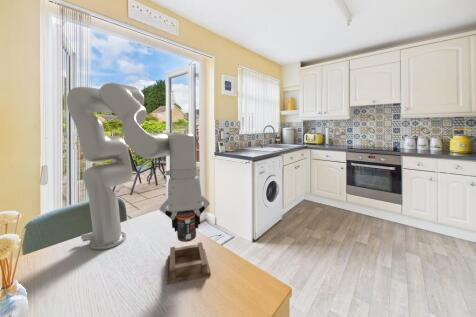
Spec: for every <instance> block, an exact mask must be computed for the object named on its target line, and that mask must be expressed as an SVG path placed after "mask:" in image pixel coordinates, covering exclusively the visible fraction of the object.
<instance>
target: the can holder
mask: <svg viewBox="0 0 476 317" xmlns="http://www.w3.org/2000/svg"><path fill="white" fill-rule="evenodd" d="M169 250H170V251H169V253H170V254H168V255H167V266H166V285H170V284H175V283H180V282H186V281H189V280H194V279H199V278H204V277H210V276H211V275H212V274H211V269H210V268H211V267H210V264H209V260H208V256H207V254H206V252H207V251H206V249H204V245H203V242H201V241H200V242H197V244H192V245H191V244H190V245H186V246H181V247H179V246H178V247H176V246H170V248H169Z"/></svg>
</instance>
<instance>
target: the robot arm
mask: <svg viewBox="0 0 476 317" xmlns="http://www.w3.org/2000/svg"><path fill="white" fill-rule="evenodd" d="M144 104H145V96H144V94H143V92H142V91H141V90H140V89H139V88H137V87H136V86H132V85H126V84H123V83H117V82H109V83H105V84H103V85H102V86H101V87H100V88H96V87H90V86H89V87H88V86H76V87H73V88H71V89H70V90H69V91H68V93H67V95H66V105H67V109H68V110H67V111H68V113H69V114H70V117H71V119H72V120H73V123H74V125H75V128H76V132H77V136H78V139H79V140H78V141H79V145H80V149H81V152H82V155H83V158H84V160H86V161H88V162H92V163H93V162H95V163H96V162H104V161H109V160H111V161H112V162H107V163H102V164H96V165H93V166H92V165H91V166H90V167H88V168H87V169H85V170H84V172H83V174H82V181H83V183H84V184H83V185H84V187H85V189H86V193H87V197H88V203H89V211H90V219H91V228H92V232H90V233H84V234H83V233H82V234H81V236H80V238H81V240H82V242H88V241H89V248H90V249H91V250H95V251H96V250H97V251H101V250H108V249H111V248H113V247H117V246H118V245H120V244H122V243H123V242H124V241H125V240H126V238H127V235H126V233H125V232H123V231H122V225H121V218H120V215H121V214H120V206H119V198H118V195H117V194H116V192H114V191H113V190H112V188H114V187H117V186H121V185H123V184H127V183H128V182H130V181H131V179H133V178H132V177H133V167H132V166H133V165H132V161H131V157H130V152H129V148H130V149H131V150H133V152H134V153H136V154H137V155H138V156H139V157H141V158H143V159H147V160H148V159H149V160H151V159H157V158H162V157H169V162H170V166H169V167H170V169H169V170H166V171H165V175H166V176H169V179H168V185H167V198H166V200H165V201H164V202H163V203H162V204H161V205H160V207H159V212H162V213H163V214H165V215H166V217H168V218H169V219H170V220H171V227H172V229H174V232H175V233H177V220H176V213H177V212H181V211H189V210H194V211H195V220H196V229H199V225H201V216H202V214H203V212H205V210H206V209H207V208H208V207H209V206H210V201H209V200H208V199H206V198H205V196H203V195H202V188H201V182H200V181H201V180H200V178H199V176H197V169H196V168H197V167H196V166H197V164H196V162H197V161H196V149H195V148H196V145H195V144H196V142H195V136H194V135H193V134H192V133H181V132H180V133H173V132H150V133H149V132H147V131H146V130H145V129H144V128H143V127H141V126H140V125H142V124H143V123H144V121H145V120H146V119H147V116H148V112H147V109H146V107H145V106H144ZM94 112H95V113H107V114H108V113H110V114H114V115H115V116H116V117H117V118H118V120H120V121H121V122H122V123H121V125H122V126H121V132H122V135H123V137H120V136H117V135H107V134H106V132H105V127H104V124H103V123H102V121H101V120H100V119H99V118H98V116H96V115H95V114H94ZM128 146H129V148H128ZM167 207H168V208H167Z"/></svg>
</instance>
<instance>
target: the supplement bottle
mask: <svg viewBox="0 0 476 317" xmlns="http://www.w3.org/2000/svg"><path fill="white" fill-rule="evenodd" d="M195 213H196V212H195V210H189V211H181V212H177V213H176V220H177V231H176V234H177V235H176V236H177V240H178V241H179V242H183V243H187V242H188V243H189V242H191V241H193V240H195V238H196V237H197V228H196V220H195Z"/></svg>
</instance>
